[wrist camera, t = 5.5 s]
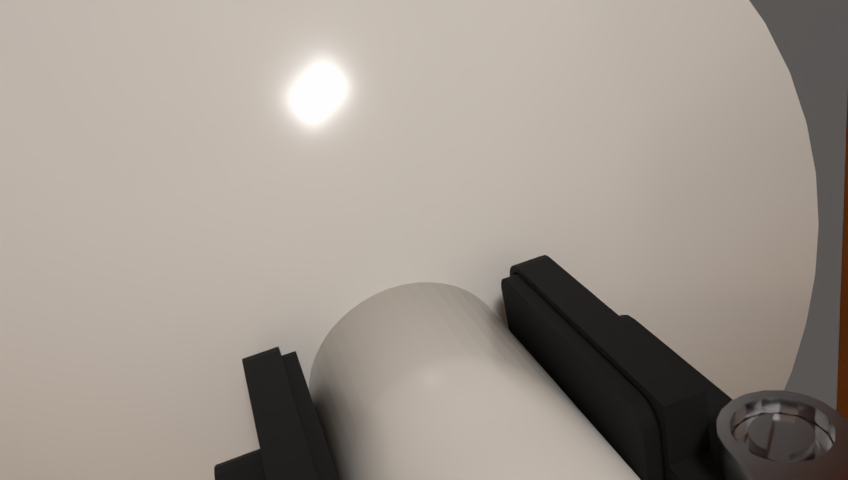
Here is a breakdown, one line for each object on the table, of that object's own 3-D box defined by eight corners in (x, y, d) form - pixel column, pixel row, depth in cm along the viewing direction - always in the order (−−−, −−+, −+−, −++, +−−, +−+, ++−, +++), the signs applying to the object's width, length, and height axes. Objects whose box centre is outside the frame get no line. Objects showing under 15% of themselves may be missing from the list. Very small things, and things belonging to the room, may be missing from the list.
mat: (842, -397, 11) (864, -407, 11) (818, 521, 19) (832, 532, 18) (-691, -131, 8) (-734, -134, 7) (55, 869, 15) (52, 892, 15)
